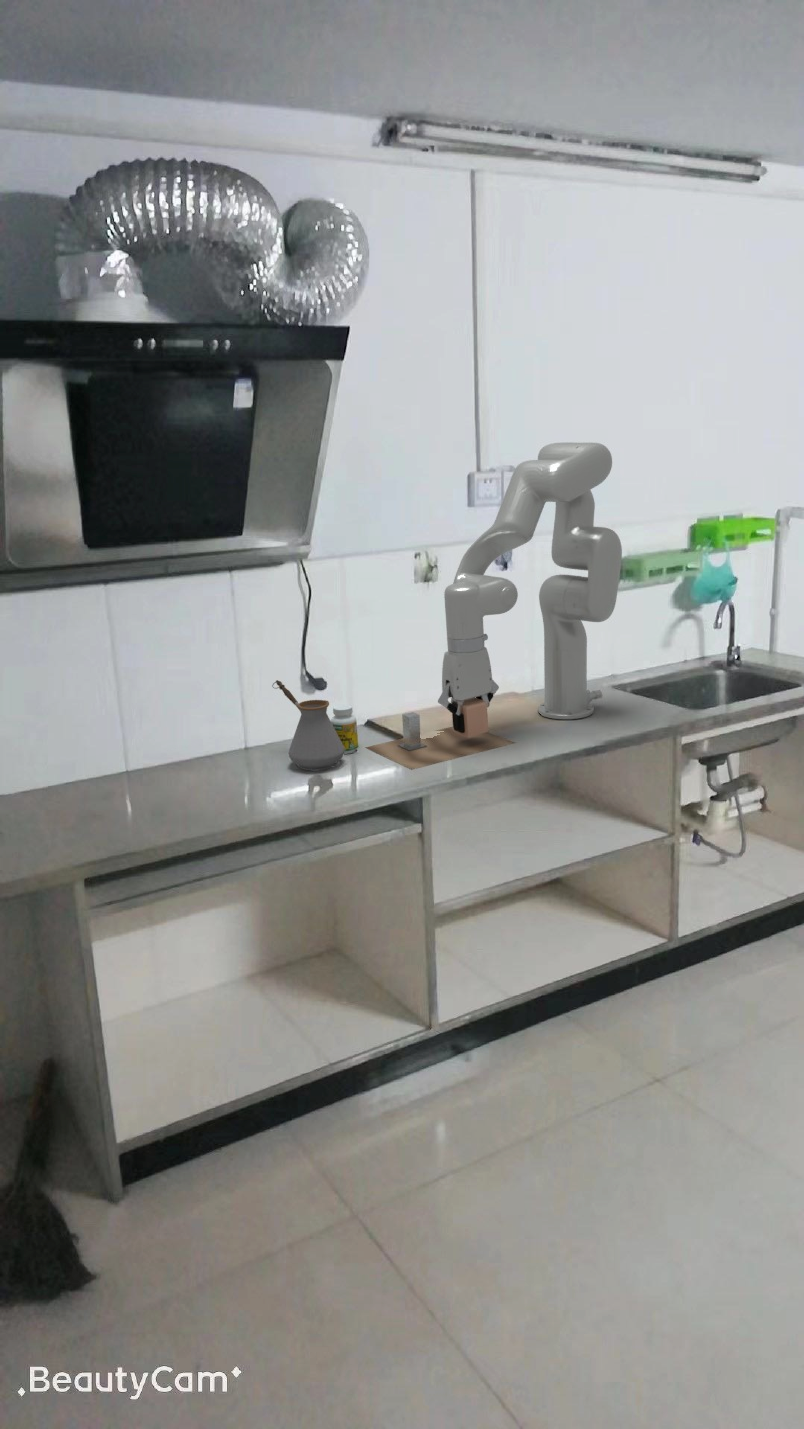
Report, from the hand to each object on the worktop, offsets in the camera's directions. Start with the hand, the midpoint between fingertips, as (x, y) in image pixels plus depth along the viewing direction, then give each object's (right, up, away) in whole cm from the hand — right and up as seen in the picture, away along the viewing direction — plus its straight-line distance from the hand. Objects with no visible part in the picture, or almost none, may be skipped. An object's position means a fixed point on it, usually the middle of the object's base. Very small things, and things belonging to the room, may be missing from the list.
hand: (470, 727), depth 220 cm
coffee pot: (-34, -7, -1) cm, 35 cm away
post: (-12, -5, 0) cm, 13 cm away
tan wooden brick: (0, -1, 0) cm, 1 cm away
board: (-6, -5, +1) cm, 8 cm away
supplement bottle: (-26, -5, +2) cm, 27 cm away
